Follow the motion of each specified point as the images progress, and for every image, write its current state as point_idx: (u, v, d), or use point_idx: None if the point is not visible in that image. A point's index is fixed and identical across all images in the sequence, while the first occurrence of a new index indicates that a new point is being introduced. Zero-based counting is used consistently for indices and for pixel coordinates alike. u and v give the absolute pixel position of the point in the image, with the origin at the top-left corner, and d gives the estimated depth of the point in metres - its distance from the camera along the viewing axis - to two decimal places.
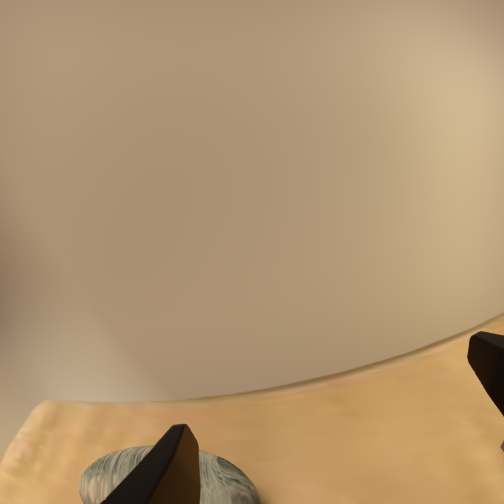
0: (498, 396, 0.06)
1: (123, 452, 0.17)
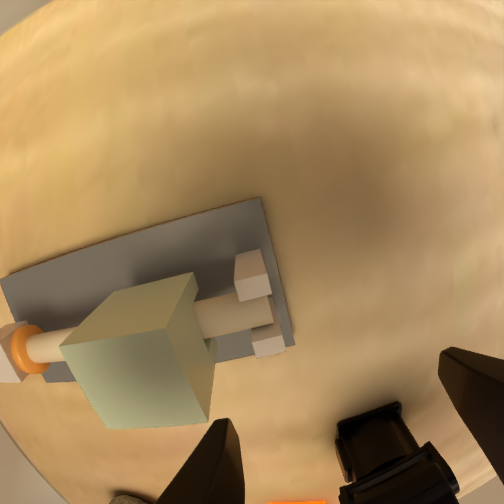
0: (468, 416, 0.06)
1: None
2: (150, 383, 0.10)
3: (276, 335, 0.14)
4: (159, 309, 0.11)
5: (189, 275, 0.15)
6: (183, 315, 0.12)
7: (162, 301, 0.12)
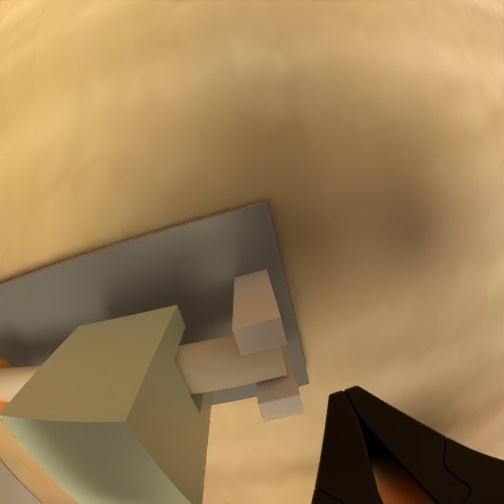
0: None
1: None
2: (118, 475, 0.06)
3: (291, 394, 0.10)
4: (123, 375, 0.07)
5: (171, 312, 0.11)
6: (159, 381, 0.08)
7: (129, 359, 0.08)
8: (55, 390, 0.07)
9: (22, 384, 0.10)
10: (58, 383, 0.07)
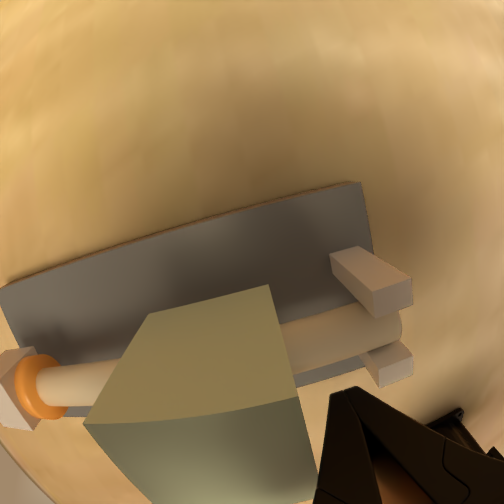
0: None
1: None
2: (250, 469, 0.06)
3: (406, 356, 0.10)
4: (255, 353, 0.07)
5: (266, 291, 0.11)
6: None
7: (250, 337, 0.08)
8: (163, 383, 0.07)
9: (88, 383, 0.10)
10: (162, 374, 0.07)
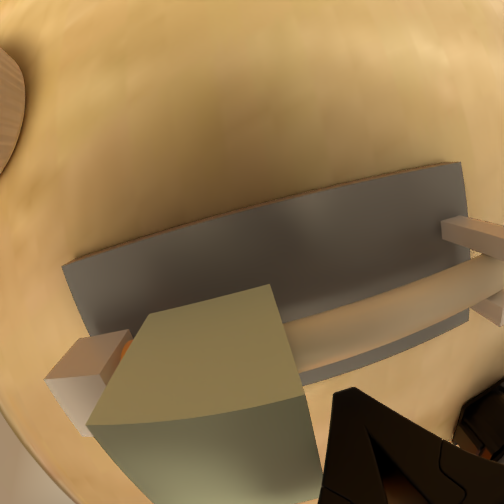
0: None
1: None
2: (255, 469, 0.06)
3: None
4: (260, 352, 0.07)
5: (268, 290, 0.11)
6: None
7: (253, 336, 0.08)
8: (167, 383, 0.07)
9: None
10: (165, 374, 0.07)
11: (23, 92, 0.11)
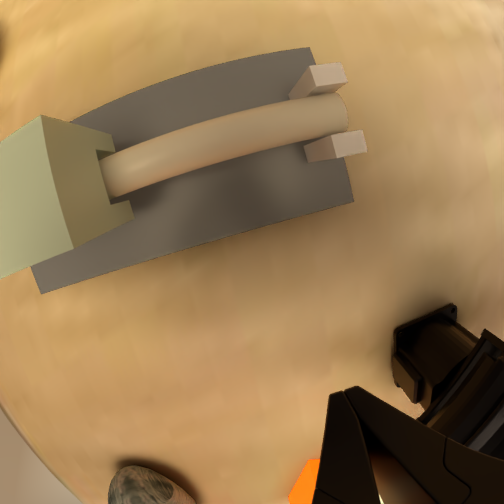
0: None
1: None
2: (21, 193, 0.08)
3: (356, 130, 0.12)
4: None
5: (104, 134, 0.13)
6: (76, 138, 0.09)
7: None
8: None
9: None
10: None
11: None
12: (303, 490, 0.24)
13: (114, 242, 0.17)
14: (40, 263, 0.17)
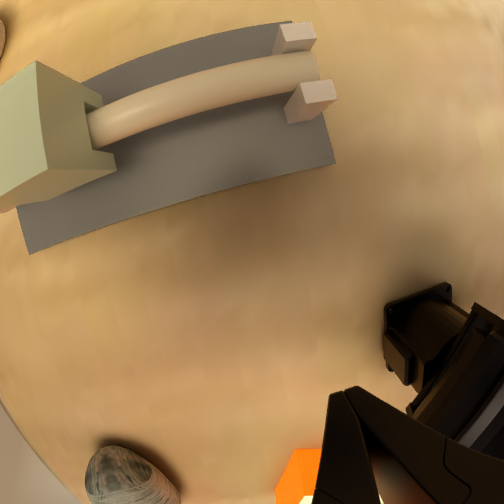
0: None
1: None
2: (11, 125, 0.08)
3: None
4: None
5: (94, 93, 0.13)
6: (65, 86, 0.10)
7: None
8: None
9: None
10: None
11: (3, 36, 0.13)
12: (289, 482, 0.23)
13: (99, 200, 0.17)
14: (30, 223, 0.17)
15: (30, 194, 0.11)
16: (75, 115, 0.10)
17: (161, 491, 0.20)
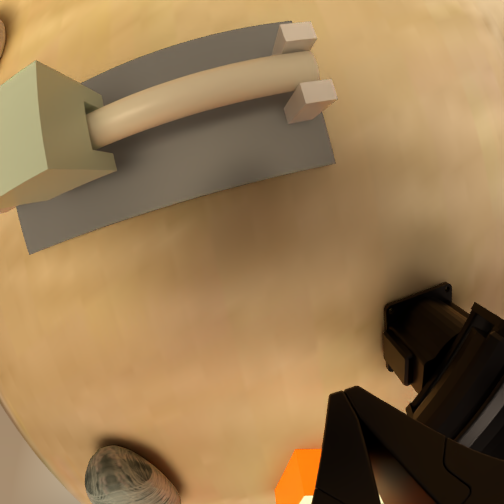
0: None
1: None
2: (11, 125, 0.08)
3: None
4: None
5: (95, 93, 0.13)
6: (65, 86, 0.10)
7: None
8: None
9: None
10: None
11: (3, 36, 0.13)
12: (289, 482, 0.23)
13: (99, 200, 0.17)
14: (30, 223, 0.17)
15: (30, 194, 0.11)
16: (75, 115, 0.10)
17: (161, 491, 0.20)
